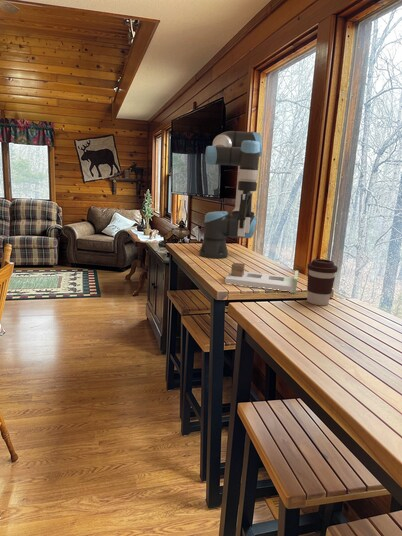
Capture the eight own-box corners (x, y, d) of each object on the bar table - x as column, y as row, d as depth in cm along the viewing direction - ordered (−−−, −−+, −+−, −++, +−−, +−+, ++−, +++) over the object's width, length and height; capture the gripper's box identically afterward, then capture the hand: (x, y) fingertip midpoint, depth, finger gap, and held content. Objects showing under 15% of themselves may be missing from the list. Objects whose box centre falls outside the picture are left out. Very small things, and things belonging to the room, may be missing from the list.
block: (233, 273, 160) (233, 262, 159) (243, 274, 159) (244, 263, 157) (230, 275, 155) (231, 264, 154) (241, 277, 154) (242, 266, 153)
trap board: (231, 275, 165) (232, 263, 164) (296, 283, 159) (298, 270, 158) (224, 284, 151) (225, 270, 150) (295, 293, 145) (297, 279, 143)
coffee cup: (300, 303, 133) (305, 261, 130) (306, 296, 142) (311, 256, 138) (329, 309, 129) (335, 265, 125) (334, 301, 137) (340, 260, 134)
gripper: (243, 180, 168) (239, 230, 173) (233, 180, 145) (228, 237, 151) (260, 181, 166) (256, 231, 171) (252, 181, 144) (247, 239, 149)
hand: (243, 234), depth 161 cm, fingers open, 11 cm apart
